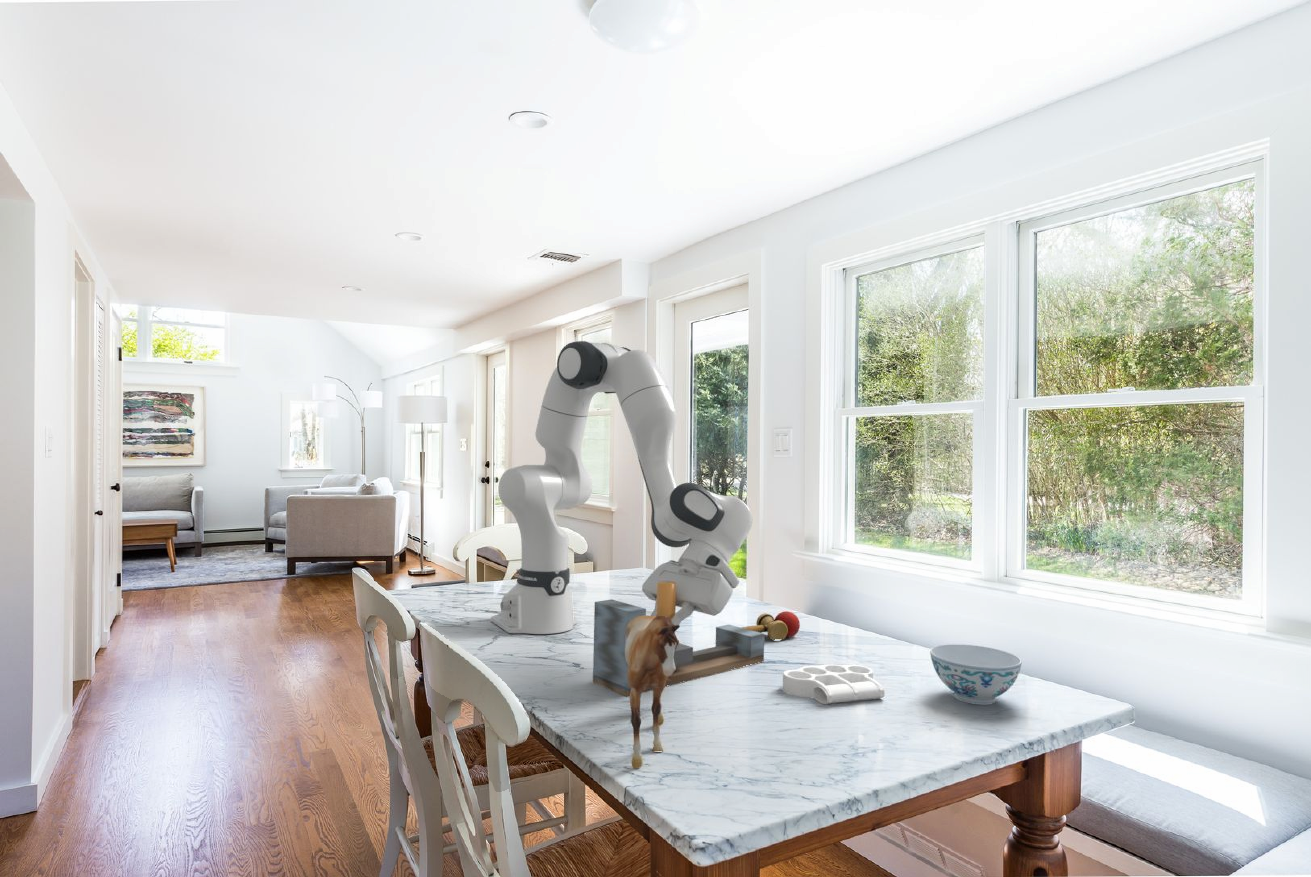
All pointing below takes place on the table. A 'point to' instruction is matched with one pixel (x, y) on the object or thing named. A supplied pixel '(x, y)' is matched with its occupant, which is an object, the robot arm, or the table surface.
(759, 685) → the table surface
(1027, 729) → the table surface
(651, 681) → the horse figurine
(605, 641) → the walnut rail
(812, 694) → the white brass knuckles
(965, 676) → the chinaware
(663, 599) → the carriage
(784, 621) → the kendama
